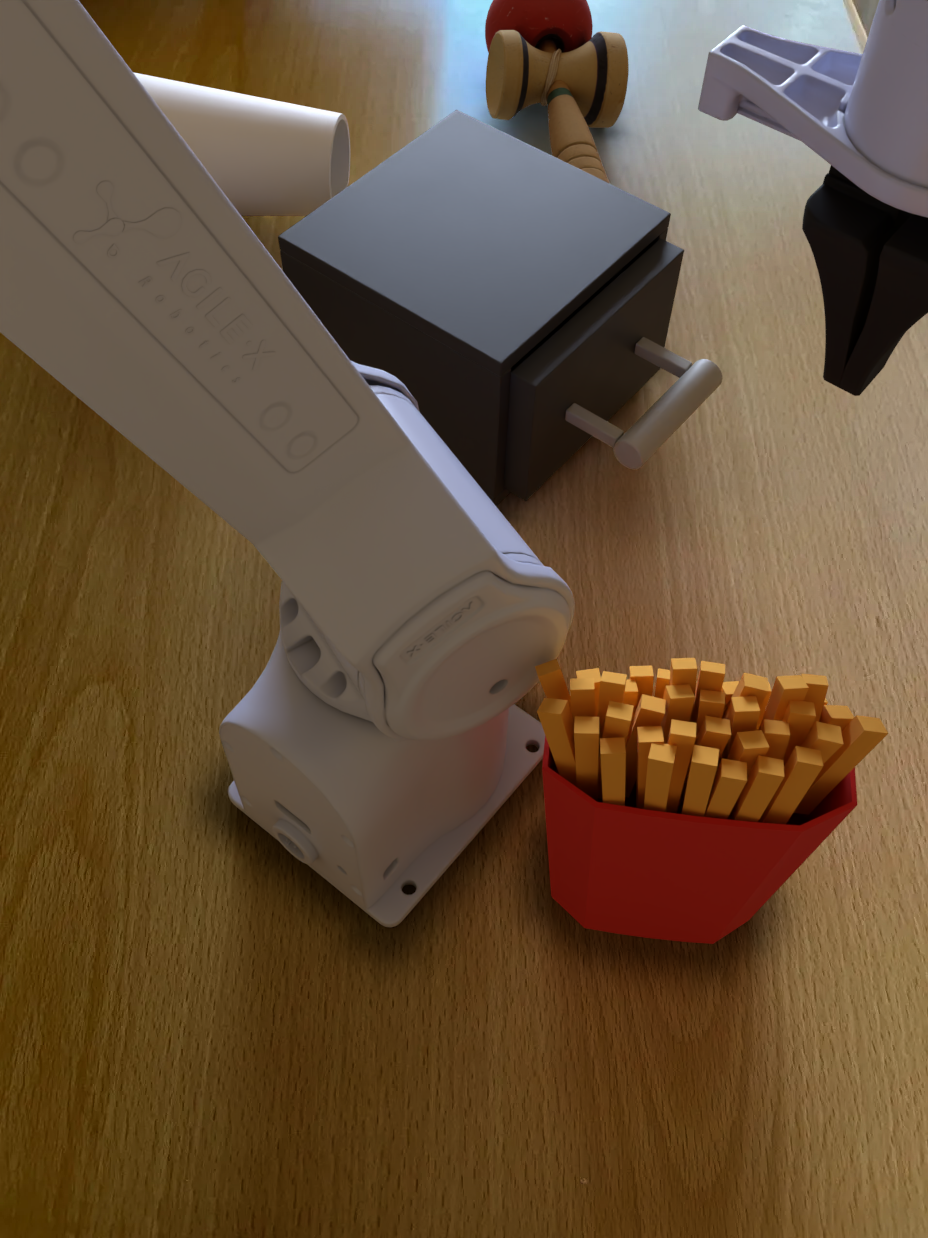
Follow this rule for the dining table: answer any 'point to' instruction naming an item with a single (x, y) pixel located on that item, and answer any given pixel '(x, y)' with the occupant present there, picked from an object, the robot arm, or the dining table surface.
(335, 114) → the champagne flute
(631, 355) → the drawer
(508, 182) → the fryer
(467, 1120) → the dining table surface
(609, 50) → the kendama
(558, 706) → the french fries
